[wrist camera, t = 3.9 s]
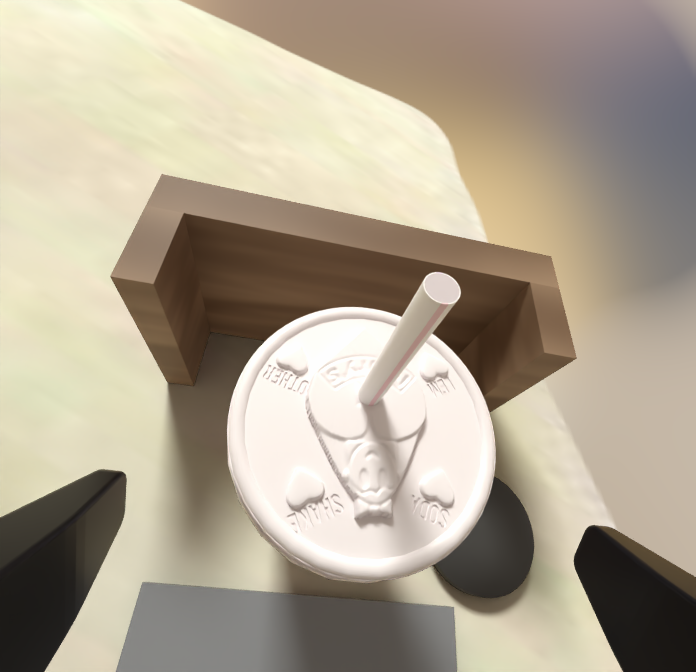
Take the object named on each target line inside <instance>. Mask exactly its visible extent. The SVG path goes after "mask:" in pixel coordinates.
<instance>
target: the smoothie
mask: <svg viewBox="0 0 696 672" xmlns="http://www.w3.org/2000/svg"><path fill="white" fill-rule="evenodd" d="M460 294H461V291H460V287H459V285H458V283H457V282H456V281H455V280H454V279H453V278H452V277H451V276H449V275H447V274H444V273H441V272H434V273H430V274H428V275H427V276H426V277H425V279H424V280H423V282H422V284H421V286H420V287H419V289H418V291H417V292H416V294H415V296H414V297H413V299H412V301H411V302H410V304H409V306H408V307H407V309H406V311H405V313H404V314H403V316H402V317H400V316H398V315H395V314H392V313H389V312H385V311H381V310H376V309H370V308H362V307H340V308H332V309H326V310H322V311H318V312H314V313H311V314H308V315H306V316H303V317H301V318H298V319H296V320H294V321H293V322H291V323H289V324H287V325H285V326H284V327H282V328H281V329H279V330H278V331H277V332H275V333H274V334H273V335H272V336H270V337H269V338H268V339H267V340H266V341H265V342H264V343H263V344H262V345H261V346H260V347H259V348H258V350H257V351H256V352H255V353H254V354H253V356H252V357H251V358H250V360H249V361H248V363H247V364H246V366H245V368H244V370H243V372H242V373H241V375H240V377H239V379H238V382H237V384H236V387H235V389H234V393H233V396H232V400H231V403H230V409H229V414H228V425H227V444H228V467H229V470H230V473H231V477H232V480H233V483H234V487H235V490H236V494H237V497H238V500H239V503H240V504H241V506H242V507H243V509H244V510H245V512H246V514H247V515H248V517H249V518H250V520H251V521H252V523H253V525H254V526H255V528H256V529H257V531H258V532H259V534H260V536H261V537H263V538H264V539H265V540H266V541H267V542H268V543H270V544H271V545H272V546H273V547H274V548H275V549H276V550H278V551H279V552H280V553H281V554H282V555H283V556H285V557H286V558H287V559H288V560H289V561H290V562H291V563H293V564H296V565H298V566H300V567H302V568H305V569H307V570H309V571H311V572H314V573H316V574H318V575H320V576H323V577H325V578H327V579H331V580H340V581H350V582H359V583H368V584H369V583H373V582H378V581H383V580H392V579H397V578H401V577H406V576H409V575H412V574H415V573H417V572H420V571H423V570H425V569H427V568H428V567H430V566H432V565H434V564H436V563H437V562H439V561H440V560H442V559H443V558H445V557H446V556H448V555H449V554H450V553H451V552H452V551H453V550H455V549H456V548H457V547H458V546H459V545H460V544H461V543H462V542H463V541H464V539H465V538H466V537H467V536H468V535H469V533H470V532H471V531H472V529H473V528H474V526H475V525H476V523H477V521H478V520H479V518H480V516H481V514H482V512H483V510H484V508H485V505H486V503H487V501H488V498H489V494H490V491H491V488H492V483H493V478H494V471H495V453H496V449H495V437H494V431H493V425H492V421H491V417H490V414H489V410H488V408H487V405H486V402H485V399H484V397H483V395H482V393H481V391H480V388H479V387H478V385H477V383H476V381H475V379H474V378H473V376H472V375H471V373H470V372H469V370H468V369H467V367H466V366H465V365H464V364H463V362H462V361H461V360H460V359H459V357H458V356H457V355H456V354H455V353H454V352H453V351H452V350H451V349H450V348H449V347H448V346H447V345H446V344H445V343H444V342H442V341H441V340H440V339H439V338H437V337H436V336H435V335H433V334H432V333H433V332H434V330H435V329H436V328H437V326H438V325H439V324H440V323H441V321H442V320H443V319H444V317H445V316H446V315H447V313H448V312H449V311H450V310H451V308H452V307H453V306H454V304H455V303H456V302H457V301H458V299H459V298H460Z"/></svg>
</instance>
